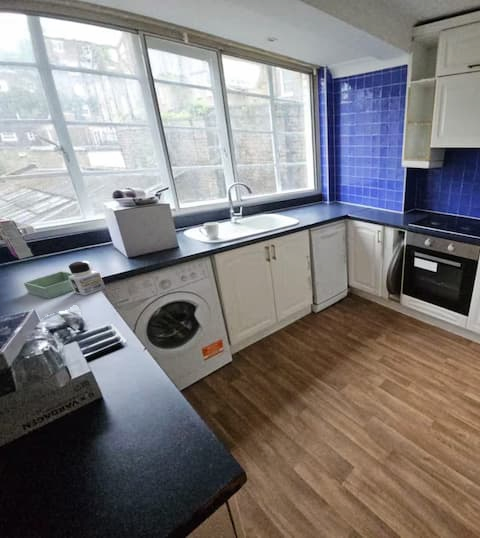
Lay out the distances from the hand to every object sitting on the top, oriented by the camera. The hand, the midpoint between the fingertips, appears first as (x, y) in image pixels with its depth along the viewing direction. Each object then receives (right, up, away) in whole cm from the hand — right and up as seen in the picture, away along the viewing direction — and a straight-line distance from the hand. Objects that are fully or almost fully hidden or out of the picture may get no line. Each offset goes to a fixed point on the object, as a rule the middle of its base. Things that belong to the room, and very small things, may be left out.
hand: (11, 235), depth 127 cm
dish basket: (+18, -23, +2) cm, 29 cm away
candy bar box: (+2, -9, +3) cm, 9 cm away
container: (+34, -24, 0) cm, 42 cm away
